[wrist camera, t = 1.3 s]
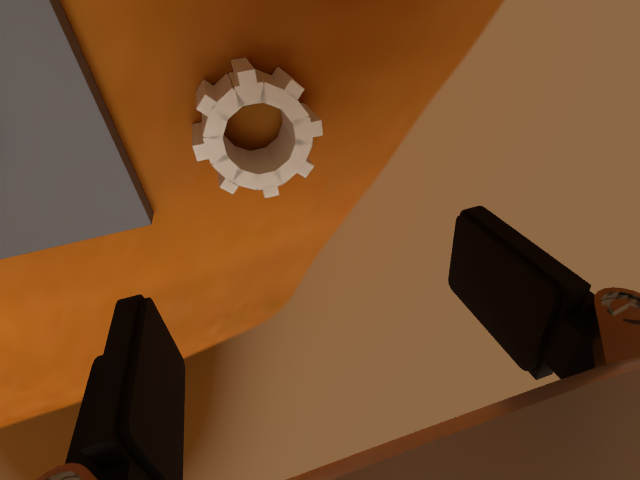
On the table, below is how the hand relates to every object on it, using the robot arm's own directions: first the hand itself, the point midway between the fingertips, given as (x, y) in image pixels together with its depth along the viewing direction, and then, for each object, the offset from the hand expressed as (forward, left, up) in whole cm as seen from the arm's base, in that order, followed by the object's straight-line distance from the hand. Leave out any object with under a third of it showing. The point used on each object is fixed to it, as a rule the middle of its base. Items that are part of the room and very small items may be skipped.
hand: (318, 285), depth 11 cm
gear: (0, 0, -16) cm, 16 cm away
